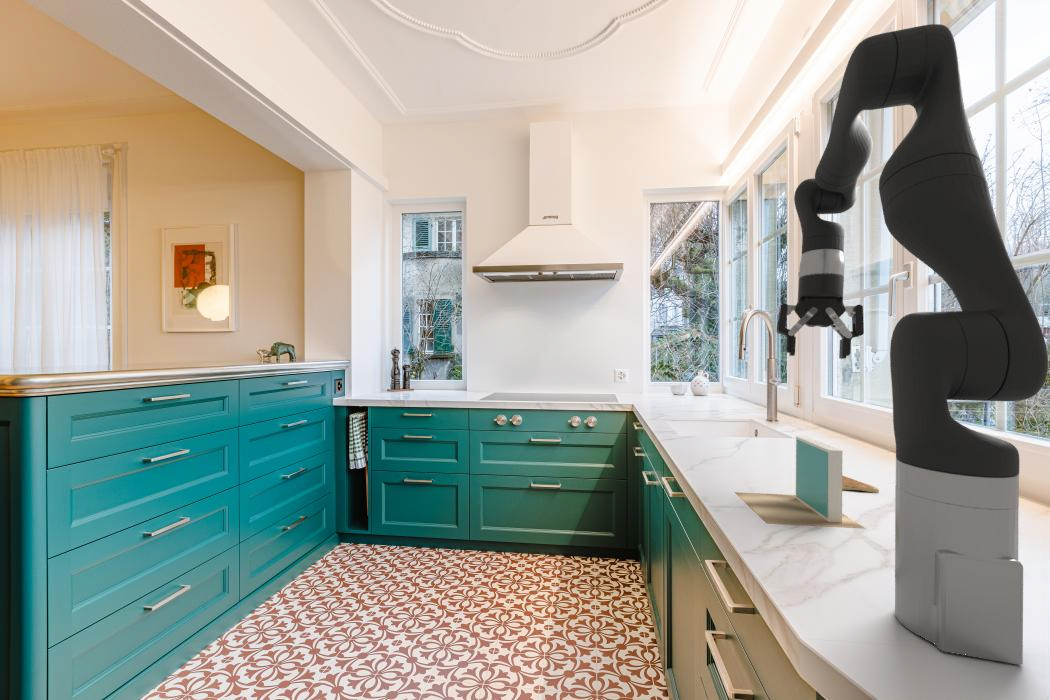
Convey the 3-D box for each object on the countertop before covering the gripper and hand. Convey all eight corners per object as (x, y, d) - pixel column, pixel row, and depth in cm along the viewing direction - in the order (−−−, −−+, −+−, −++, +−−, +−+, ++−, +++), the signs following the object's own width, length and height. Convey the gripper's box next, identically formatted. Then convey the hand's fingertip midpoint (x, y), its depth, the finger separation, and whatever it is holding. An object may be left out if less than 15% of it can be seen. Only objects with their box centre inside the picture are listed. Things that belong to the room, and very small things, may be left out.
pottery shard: (816, 492, 93) (816, 480, 93) (817, 481, 101) (817, 469, 101) (880, 502, 87) (880, 489, 87) (876, 489, 95) (876, 477, 95)
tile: (842, 522, 74) (842, 450, 74) (828, 521, 75) (828, 450, 75) (806, 498, 86) (807, 436, 86) (795, 498, 87) (795, 436, 87)
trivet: (865, 530, 72) (865, 528, 72) (766, 525, 74) (766, 522, 74) (814, 497, 88) (814, 495, 88) (734, 494, 90) (734, 492, 90)
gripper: (782, 271, 88) (778, 353, 87) (870, 271, 83) (867, 358, 82) (777, 280, 95) (773, 356, 94) (858, 280, 90) (854, 360, 89)
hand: (817, 357), depth 88 cm, fingers open, 8 cm apart
